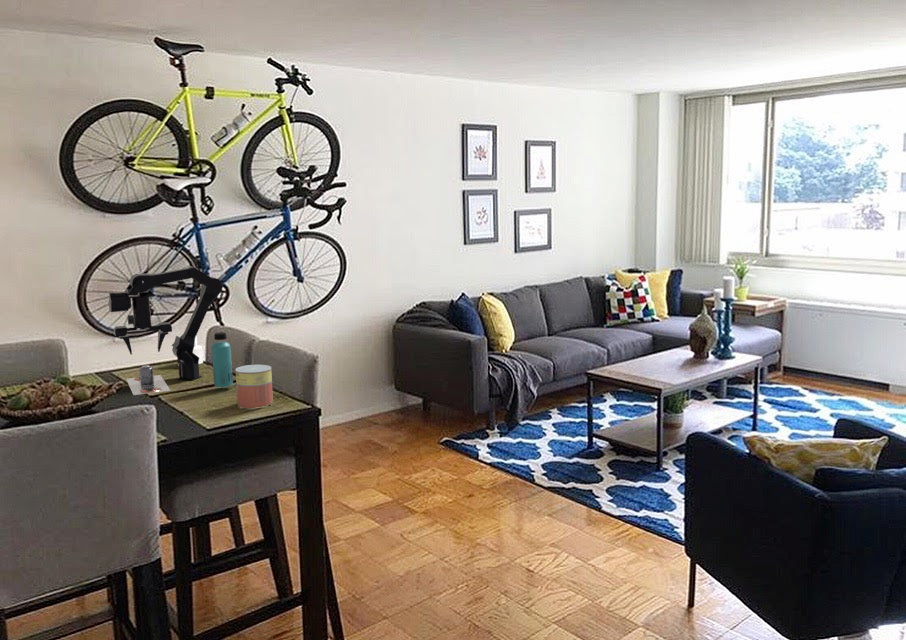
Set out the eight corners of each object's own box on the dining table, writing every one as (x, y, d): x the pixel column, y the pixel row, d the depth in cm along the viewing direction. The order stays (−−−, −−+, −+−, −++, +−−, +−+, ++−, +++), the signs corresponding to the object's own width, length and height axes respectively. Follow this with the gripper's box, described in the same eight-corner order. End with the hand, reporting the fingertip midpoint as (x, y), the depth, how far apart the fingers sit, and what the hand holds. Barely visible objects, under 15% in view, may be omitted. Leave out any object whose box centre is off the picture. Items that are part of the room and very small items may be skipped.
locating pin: (156, 382, 276) (155, 364, 275) (148, 385, 272) (146, 367, 270) (146, 381, 277) (144, 364, 276) (137, 384, 273) (136, 366, 272)
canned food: (244, 399, 253) (242, 364, 251) (277, 399, 253) (275, 364, 251) (232, 409, 242) (230, 372, 240) (267, 409, 242) (265, 372, 240)
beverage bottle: (230, 391, 264) (227, 334, 260) (211, 391, 263) (207, 334, 260) (235, 386, 270) (232, 331, 267) (217, 386, 270) (213, 331, 267)
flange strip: (125, 378, 282) (125, 374, 282) (160, 374, 288) (159, 370, 288) (133, 395, 259) (133, 390, 259) (170, 390, 265) (170, 385, 265)
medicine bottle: (177, 366, 303) (175, 336, 300) (187, 362, 309) (185, 333, 307) (193, 366, 301) (191, 337, 299) (203, 362, 308) (201, 333, 306)
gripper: (166, 304, 281) (169, 346, 284) (111, 308, 273) (114, 351, 275) (170, 308, 271) (173, 351, 274) (113, 313, 263) (117, 357, 266)
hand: (145, 353), depth 273 cm, fingers open, 9 cm apart
